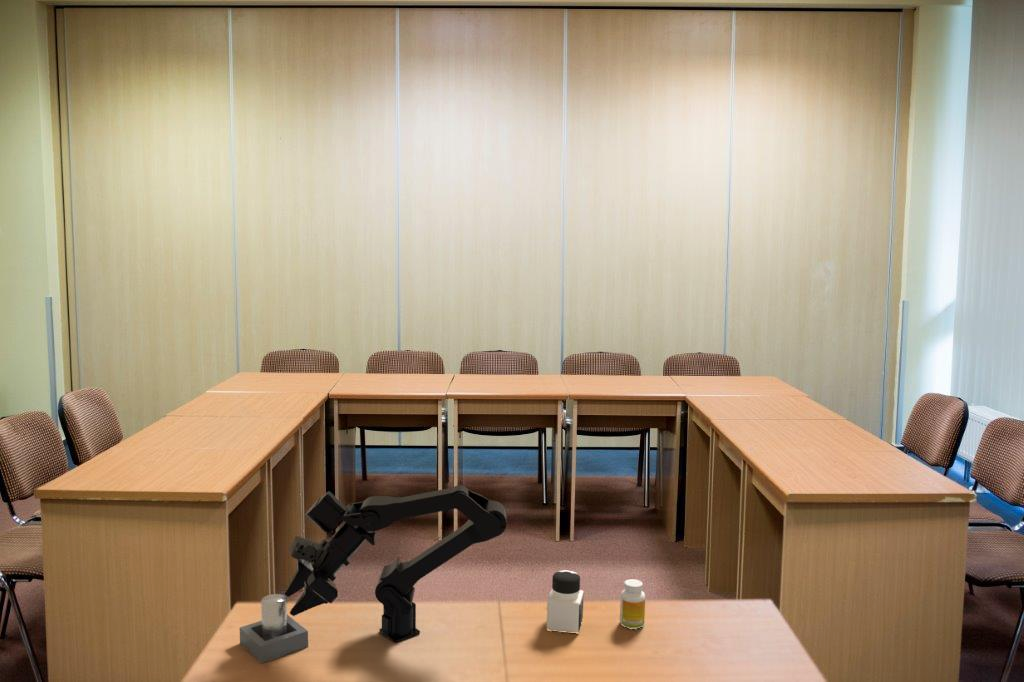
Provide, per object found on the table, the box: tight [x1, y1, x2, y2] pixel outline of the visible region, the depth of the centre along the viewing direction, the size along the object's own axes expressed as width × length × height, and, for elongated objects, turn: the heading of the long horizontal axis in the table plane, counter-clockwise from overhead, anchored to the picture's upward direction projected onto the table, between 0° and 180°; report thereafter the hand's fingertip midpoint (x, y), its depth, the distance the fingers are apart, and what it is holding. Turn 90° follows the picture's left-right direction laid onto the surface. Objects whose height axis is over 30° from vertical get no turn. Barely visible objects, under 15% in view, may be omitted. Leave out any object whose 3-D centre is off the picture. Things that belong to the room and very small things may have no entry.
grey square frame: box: [239, 614, 309, 664], centre depth 171 cm, size 10×10×4 cm
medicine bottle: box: [546, 569, 585, 633], centre depth 181 cm, size 7×7×12 cm
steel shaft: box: [260, 593, 288, 641], centre depth 171 cm, size 5×5×10 cm
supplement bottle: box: [619, 578, 646, 629], centre depth 183 cm, size 5×5×10 cm
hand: (288, 604), depth 171 cm, fingers open, 9 cm apart
